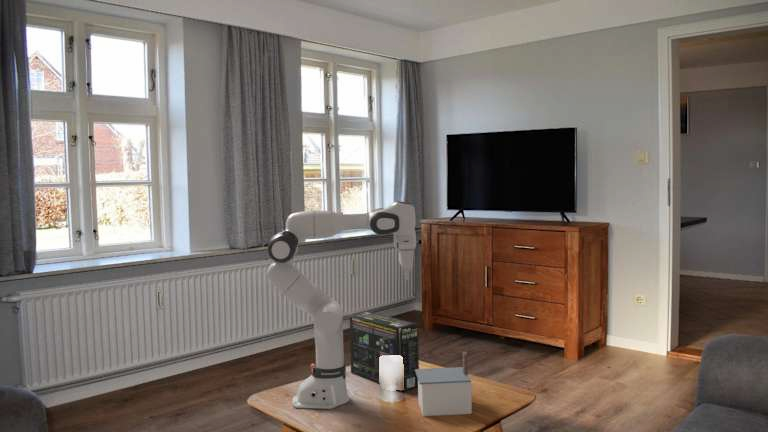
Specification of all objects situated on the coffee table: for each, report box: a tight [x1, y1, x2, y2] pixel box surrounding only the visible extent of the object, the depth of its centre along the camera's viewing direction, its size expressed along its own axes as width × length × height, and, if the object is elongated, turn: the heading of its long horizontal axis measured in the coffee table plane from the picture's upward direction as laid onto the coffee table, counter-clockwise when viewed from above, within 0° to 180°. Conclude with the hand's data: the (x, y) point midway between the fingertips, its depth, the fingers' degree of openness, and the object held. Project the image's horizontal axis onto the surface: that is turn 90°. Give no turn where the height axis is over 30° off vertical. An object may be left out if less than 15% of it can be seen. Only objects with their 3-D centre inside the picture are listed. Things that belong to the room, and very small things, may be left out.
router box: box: [348, 311, 420, 391], centre depth 268 cm, size 36×11×27 cm, turn 39°
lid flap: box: [415, 351, 472, 384], centre depth 234 cm, size 19×16×9 cm
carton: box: [417, 381, 473, 417], centre depth 235 cm, size 18×15×12 cm
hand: (405, 277), depth 244 cm, fingers open, 8 cm apart
